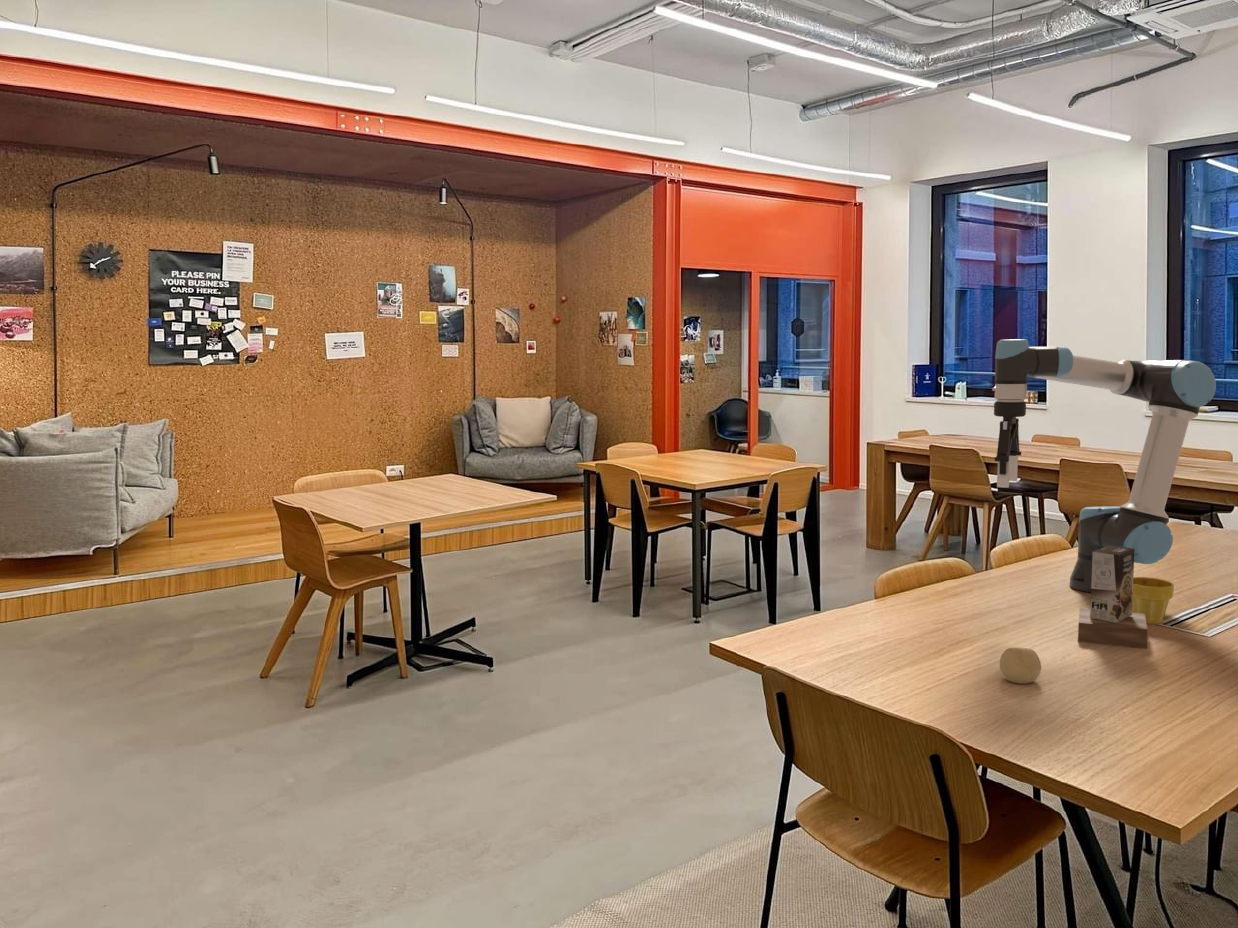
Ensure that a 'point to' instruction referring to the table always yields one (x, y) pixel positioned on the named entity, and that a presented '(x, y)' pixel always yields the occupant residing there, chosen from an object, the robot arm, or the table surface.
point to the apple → (1020, 665)
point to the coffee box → (1112, 583)
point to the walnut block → (1113, 630)
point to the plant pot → (1151, 598)
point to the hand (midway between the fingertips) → (1007, 484)
